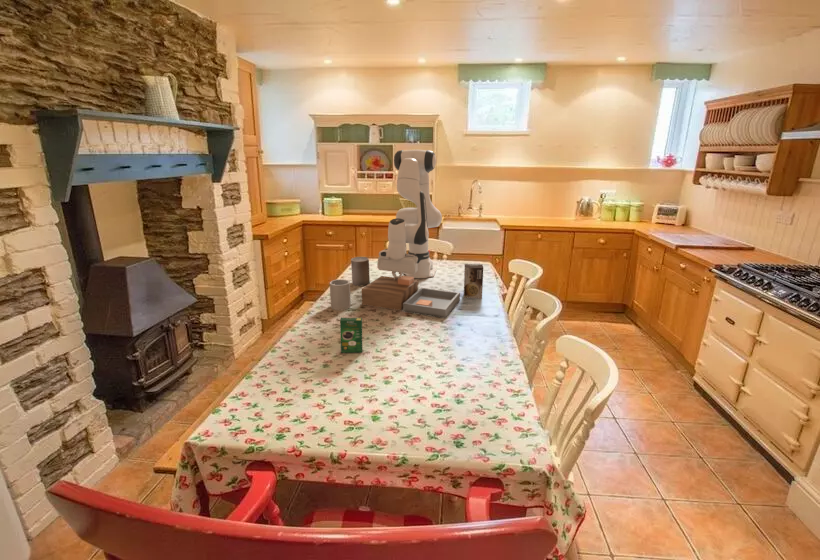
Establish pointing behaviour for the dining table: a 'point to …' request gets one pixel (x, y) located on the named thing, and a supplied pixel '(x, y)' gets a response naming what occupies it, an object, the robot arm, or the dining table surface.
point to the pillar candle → (360, 271)
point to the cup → (340, 294)
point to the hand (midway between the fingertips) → (397, 280)
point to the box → (440, 302)
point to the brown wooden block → (387, 293)
